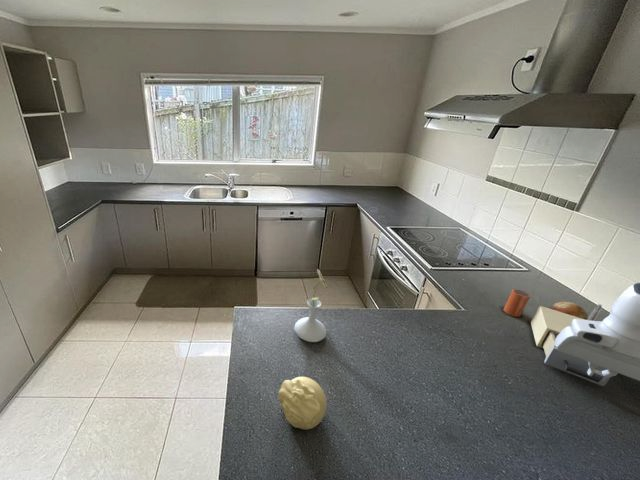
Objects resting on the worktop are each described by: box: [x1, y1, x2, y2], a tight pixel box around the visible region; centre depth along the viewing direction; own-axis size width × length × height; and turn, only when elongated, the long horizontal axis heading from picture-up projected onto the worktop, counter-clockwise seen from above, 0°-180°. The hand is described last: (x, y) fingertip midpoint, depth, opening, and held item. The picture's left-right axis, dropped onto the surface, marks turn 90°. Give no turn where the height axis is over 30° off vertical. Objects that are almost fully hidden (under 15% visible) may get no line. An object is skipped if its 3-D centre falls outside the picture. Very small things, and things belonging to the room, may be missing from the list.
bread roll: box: [551, 301, 589, 320], centre depth 116 cm, size 10×10×8 cm
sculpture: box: [277, 376, 327, 430], centre depth 73 cm, size 11×12×11 cm
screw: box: [587, 303, 603, 321], centre depth 107 cm, size 13×5×5 cm
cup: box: [503, 288, 531, 318], centre depth 116 cm, size 6×6×10 cm
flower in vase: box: [294, 269, 329, 343], centre depth 99 cm, size 13×11×25 cm
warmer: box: [530, 305, 585, 350], centre depth 101 cm, size 16×15×9 cm
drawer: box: [542, 331, 612, 387], centre depth 92 cm, size 19×13×7 cm
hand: (594, 376), depth 79 cm, fingers closed
